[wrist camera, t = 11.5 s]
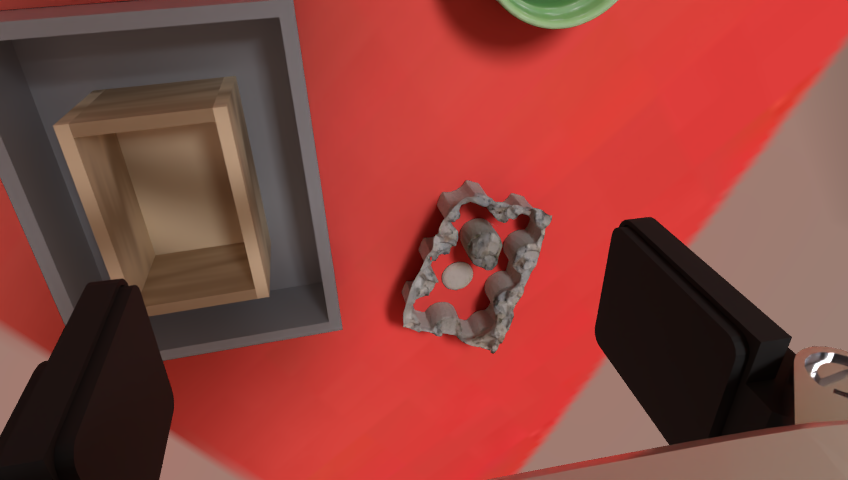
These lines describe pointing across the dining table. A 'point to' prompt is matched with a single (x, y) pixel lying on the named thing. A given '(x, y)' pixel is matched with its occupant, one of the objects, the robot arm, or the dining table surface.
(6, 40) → the grey tote
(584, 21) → the ramekin
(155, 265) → the pine crate
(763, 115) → the dining table surface
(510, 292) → the egg carton
